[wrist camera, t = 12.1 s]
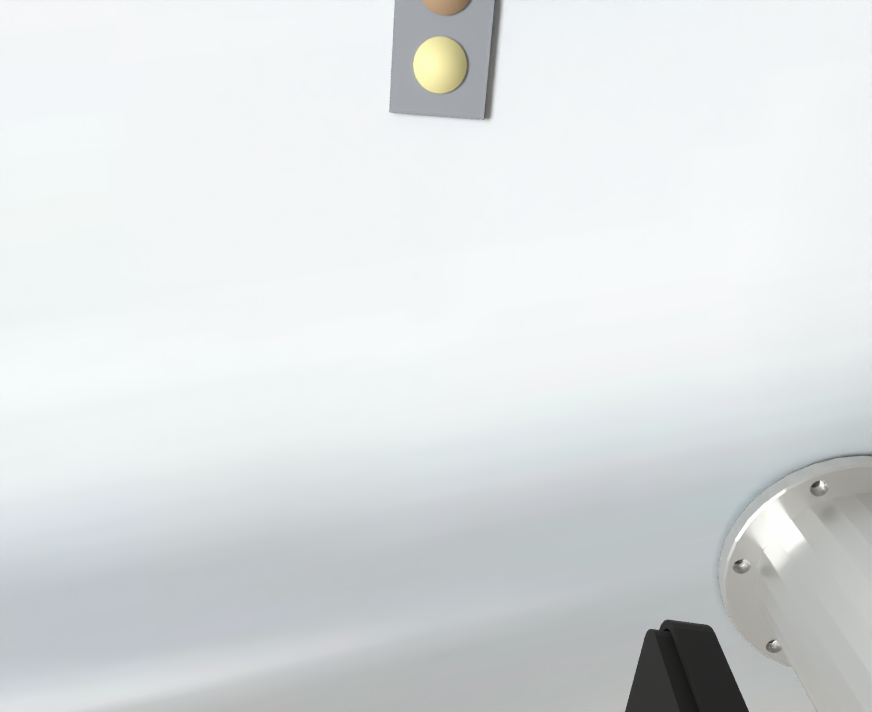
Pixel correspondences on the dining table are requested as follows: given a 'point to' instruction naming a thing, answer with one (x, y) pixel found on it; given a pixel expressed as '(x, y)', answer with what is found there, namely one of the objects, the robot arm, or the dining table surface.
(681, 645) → the robot arm
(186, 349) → the dining table surface
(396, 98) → the pair card
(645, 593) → the dining table surface
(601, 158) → the dining table surface
